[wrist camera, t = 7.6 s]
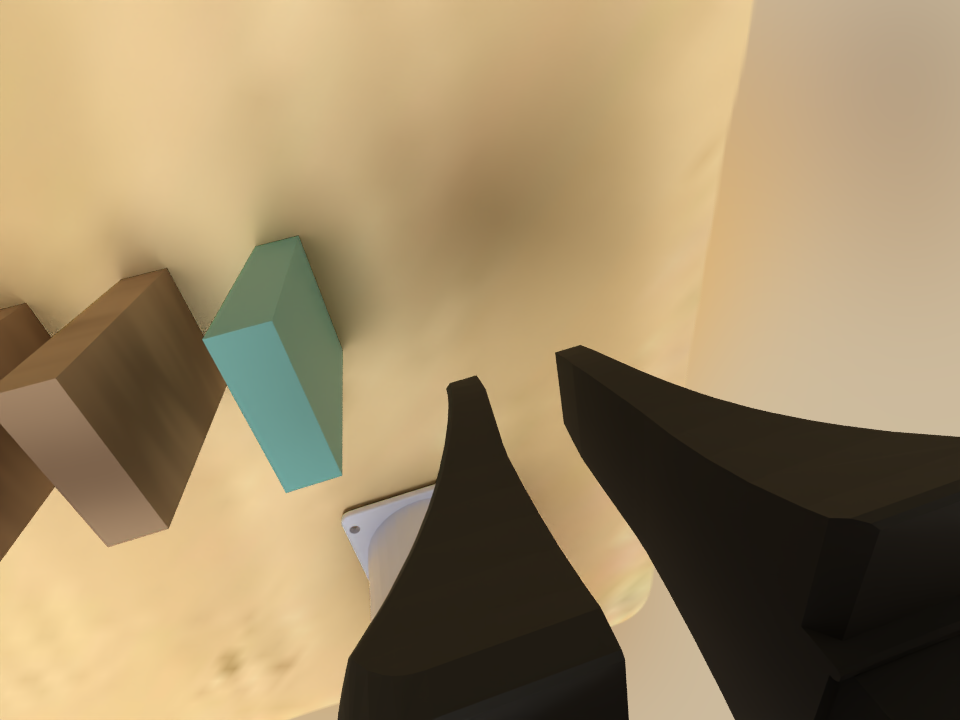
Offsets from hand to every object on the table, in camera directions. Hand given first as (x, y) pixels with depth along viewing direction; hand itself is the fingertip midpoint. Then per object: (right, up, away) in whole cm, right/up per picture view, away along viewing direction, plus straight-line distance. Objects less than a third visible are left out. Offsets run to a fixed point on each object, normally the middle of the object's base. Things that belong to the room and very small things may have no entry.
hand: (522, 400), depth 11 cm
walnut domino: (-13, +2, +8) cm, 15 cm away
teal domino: (-8, +3, +8) cm, 12 cm away
